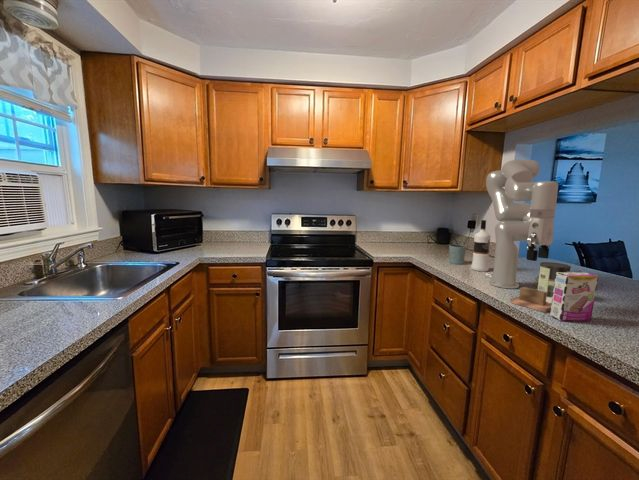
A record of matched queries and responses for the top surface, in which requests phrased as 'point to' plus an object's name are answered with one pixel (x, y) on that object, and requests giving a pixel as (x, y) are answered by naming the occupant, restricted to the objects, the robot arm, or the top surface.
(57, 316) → the top surface
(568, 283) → the candy bar box
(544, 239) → the robot arm
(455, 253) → the light blue cup
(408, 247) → the top surface
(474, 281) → the top surface
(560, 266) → the coffee can
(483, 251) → the vodka
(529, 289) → the plate with tan block
